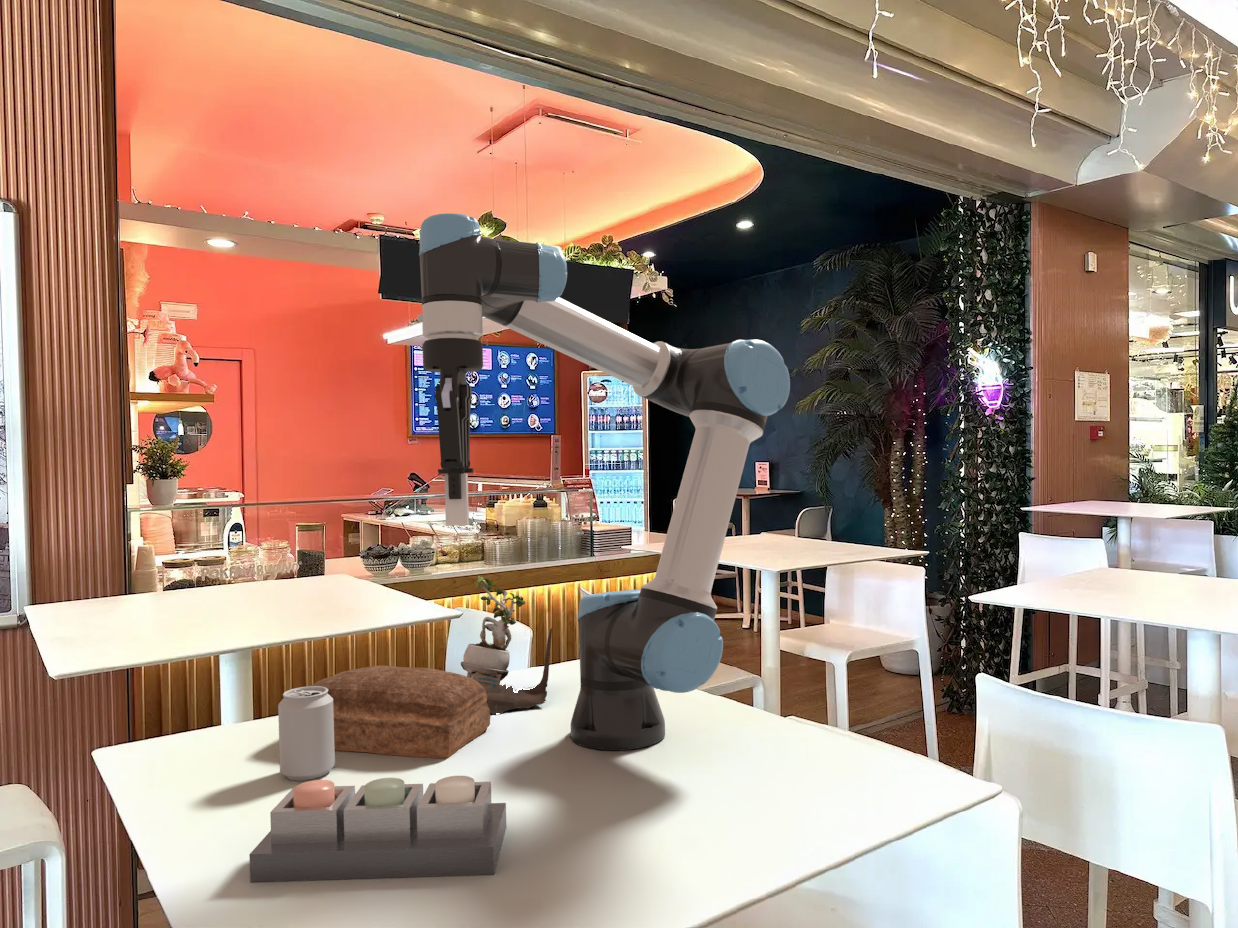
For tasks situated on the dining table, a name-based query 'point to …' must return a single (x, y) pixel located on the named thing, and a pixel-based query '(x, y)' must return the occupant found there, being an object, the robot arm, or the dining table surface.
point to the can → (306, 733)
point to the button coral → (314, 794)
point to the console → (381, 838)
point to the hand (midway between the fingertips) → (457, 524)
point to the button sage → (385, 792)
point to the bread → (406, 710)
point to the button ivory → (455, 790)
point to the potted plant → (501, 658)
